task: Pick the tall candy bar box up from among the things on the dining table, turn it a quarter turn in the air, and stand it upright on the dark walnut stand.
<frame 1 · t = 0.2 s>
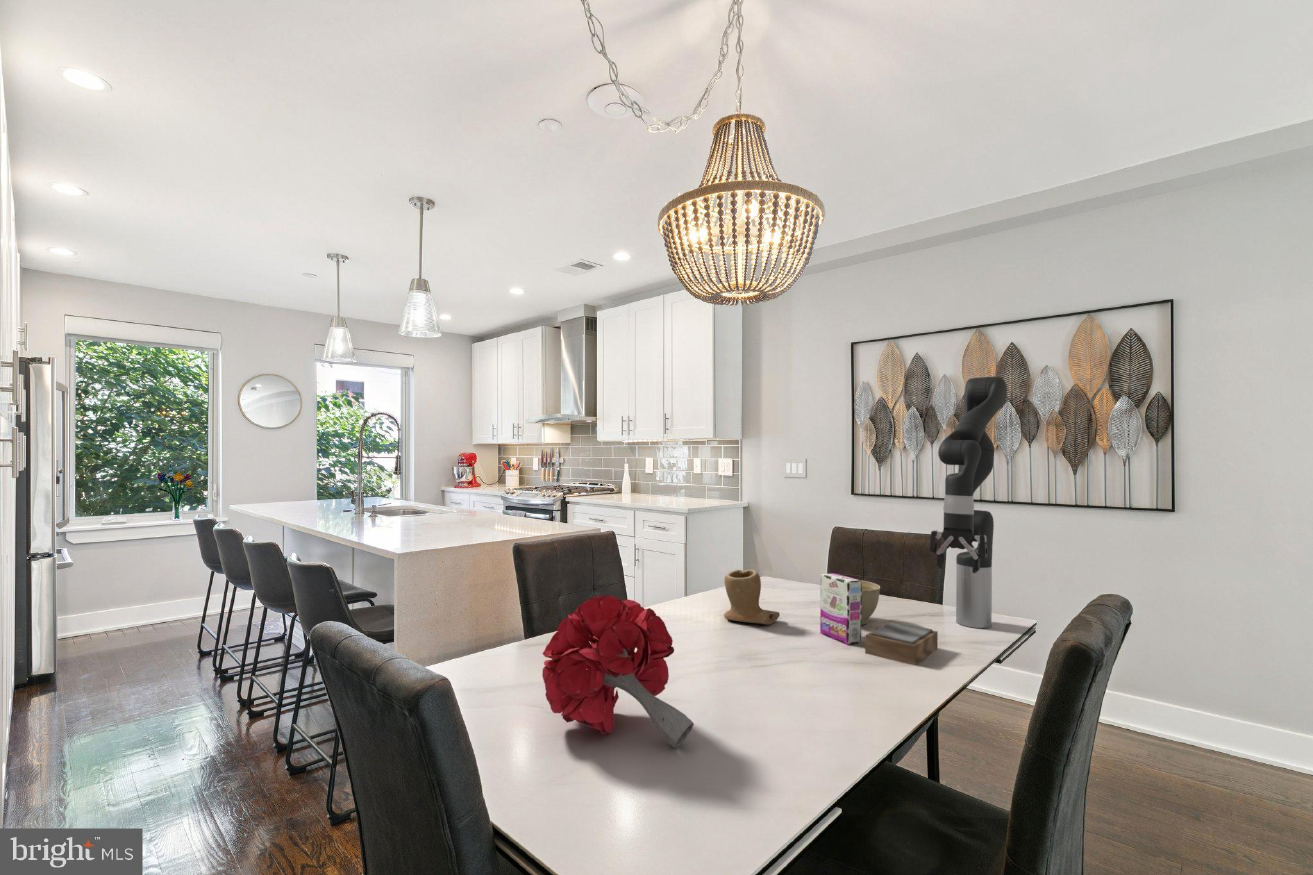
hand: (957, 570, 169), 17 cm above the table, tool pointing down, fingers open, 8 cm apart
stand: (901, 651, 154), on the table
planter bowl: (850, 622, 180), on the table
bouquet: (616, 729, 110), on the table
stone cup: (748, 622, 178), on the table
candy bar box: (840, 638, 164), on the table
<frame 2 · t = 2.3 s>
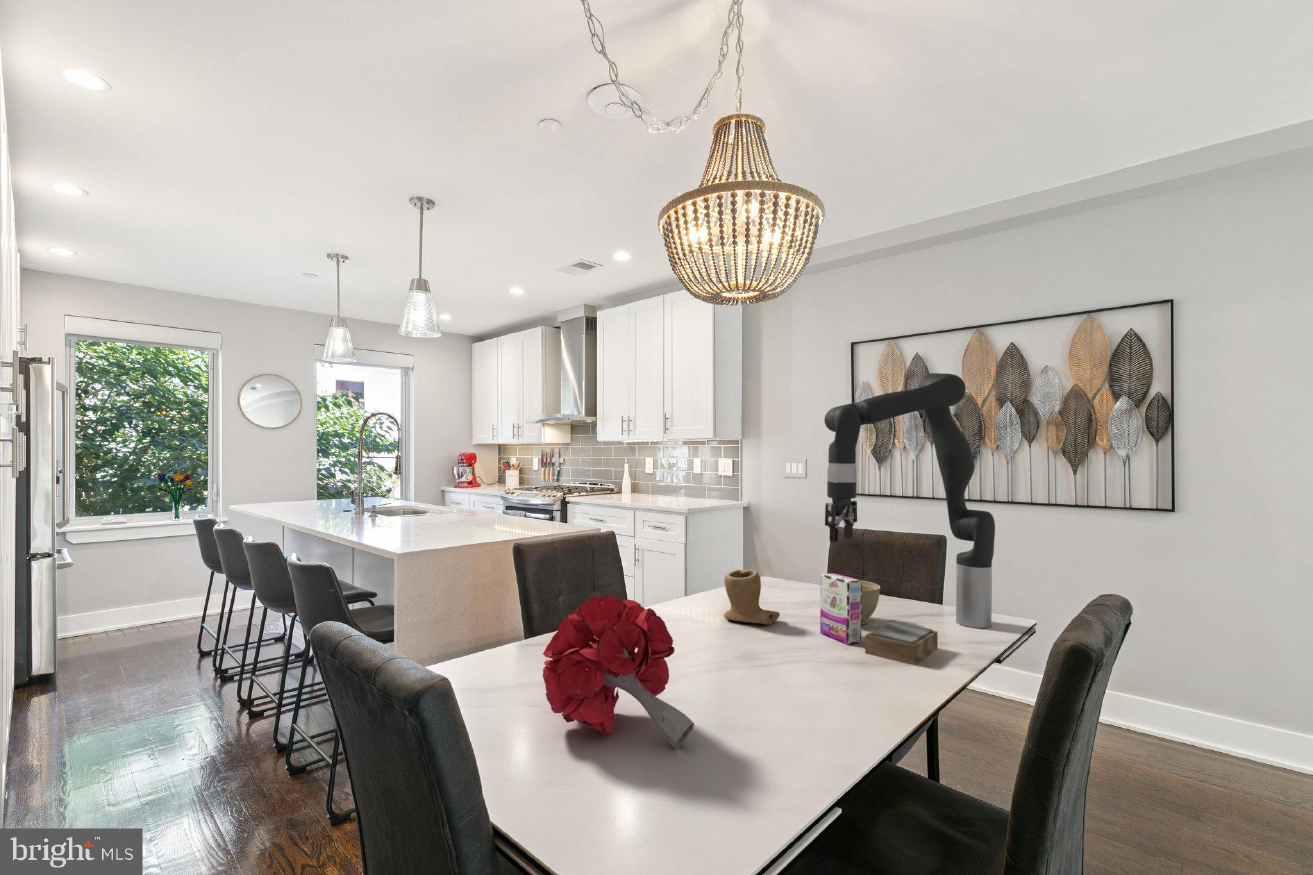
hand: (841, 540, 165), 26 cm above the table, tool pointing down, fingers open, 8 cm apart
nothing on the table moved.
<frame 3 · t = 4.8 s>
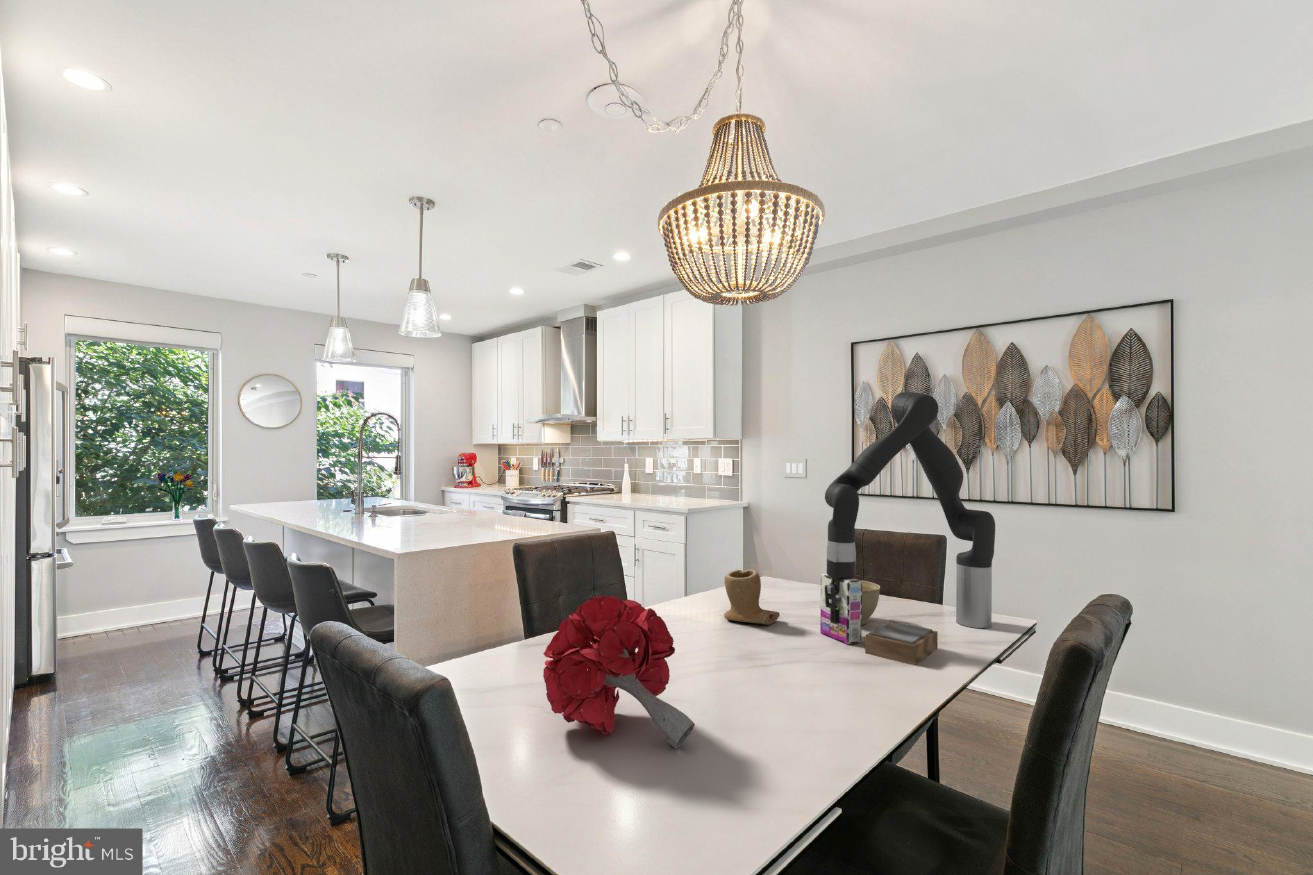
hand: (840, 620, 164), 5 cm above the table, tool pointing down, fingers closed on candy bar box, 6 cm apart
candy bar box: (840, 638, 164), on the table, touching gripper
everything else where it was.
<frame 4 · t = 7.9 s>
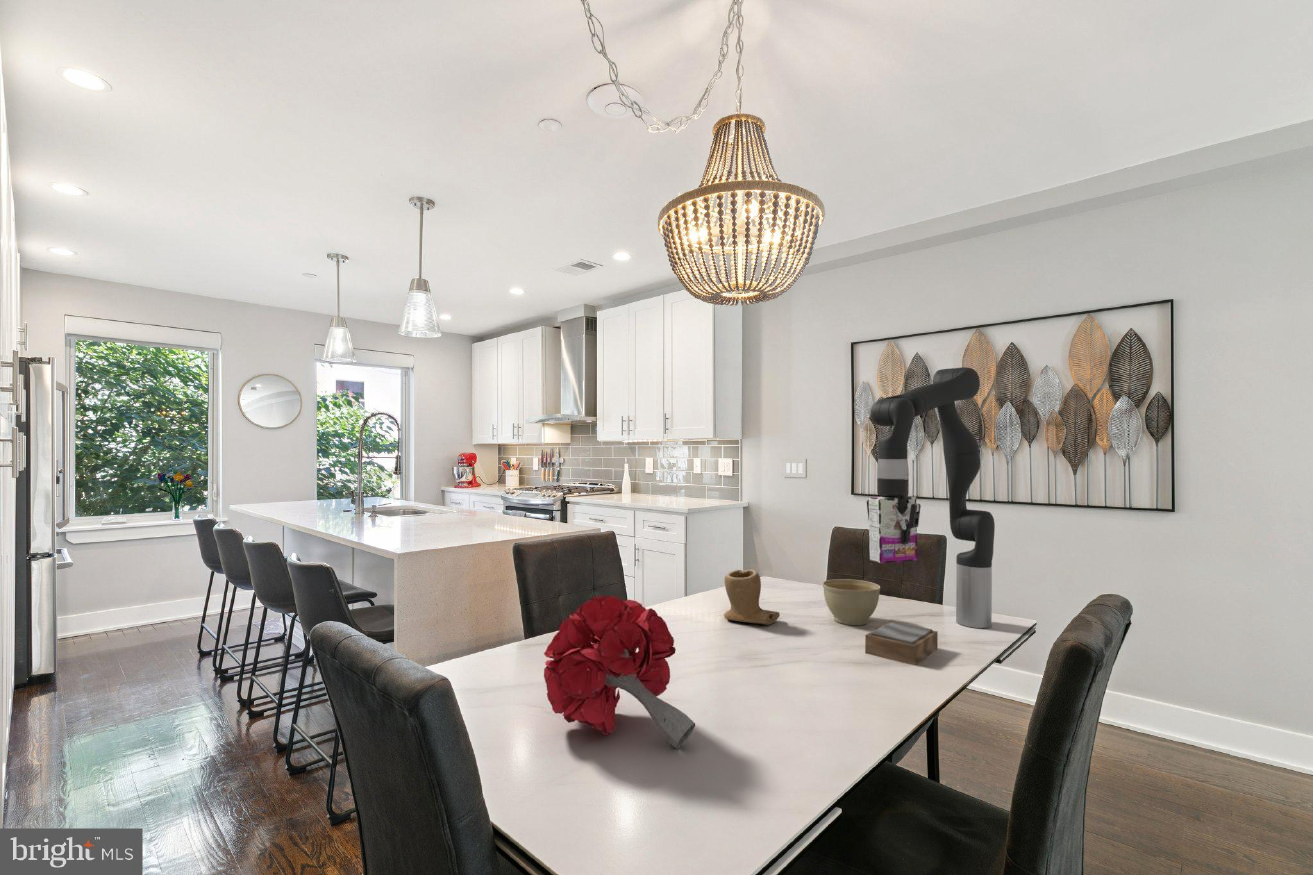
hand: (892, 542, 156), 27 cm above the table, tool pointing down, fingers closed on candy bar box, 6 cm apart
candy bar box: (892, 561, 156), point 22 cm above the table, touching gripper
everything else where it was.
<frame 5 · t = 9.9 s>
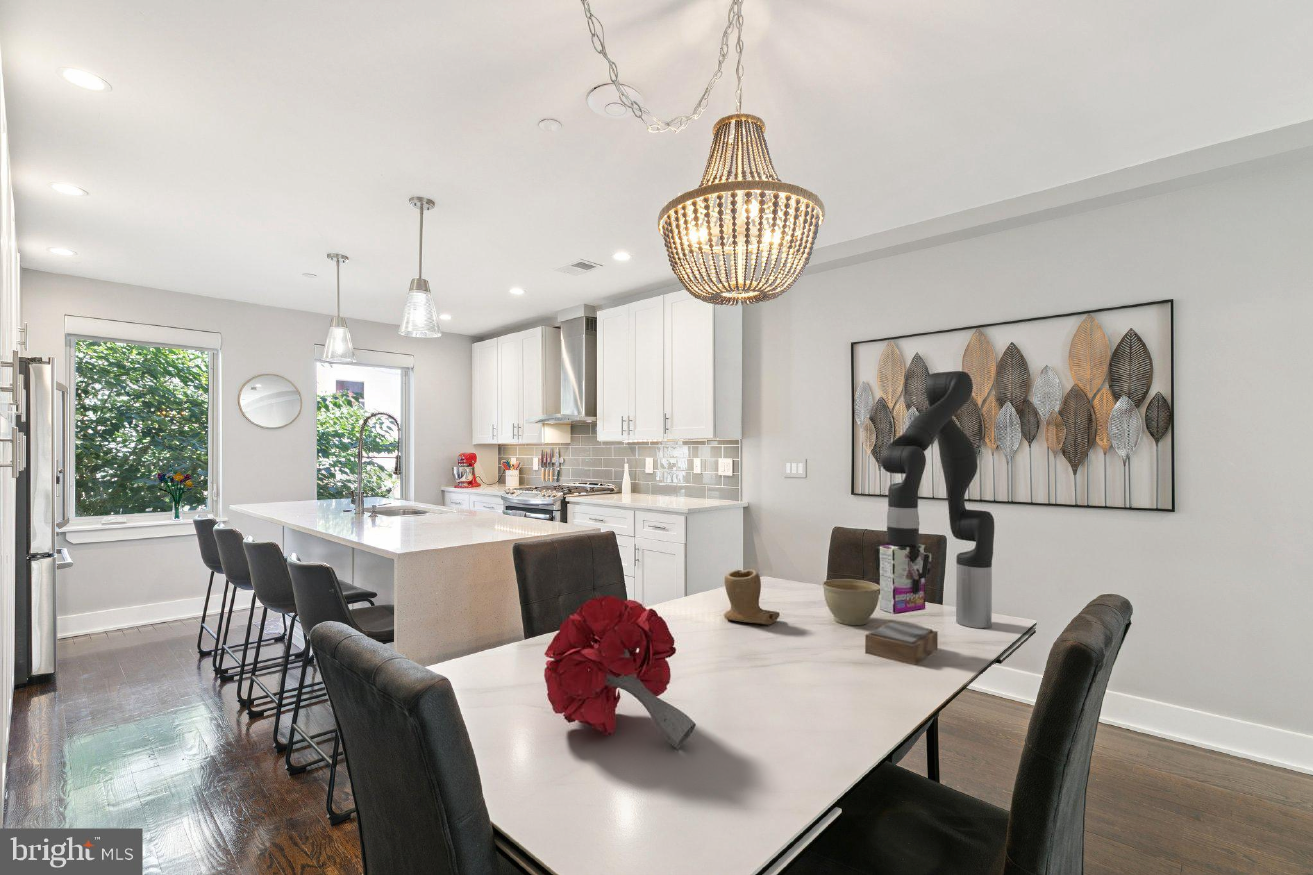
hand: (902, 591, 154), 15 cm above the table, tool pointing down, fingers closed on candy bar box, 6 cm apart
candy bar box: (902, 610, 154), point 10 cm above the table, touching gripper
everything else where it was.
when the fingers open (10 cm above the table, at t = 11.5 s): candy bar box stays where it is, resting on stand.
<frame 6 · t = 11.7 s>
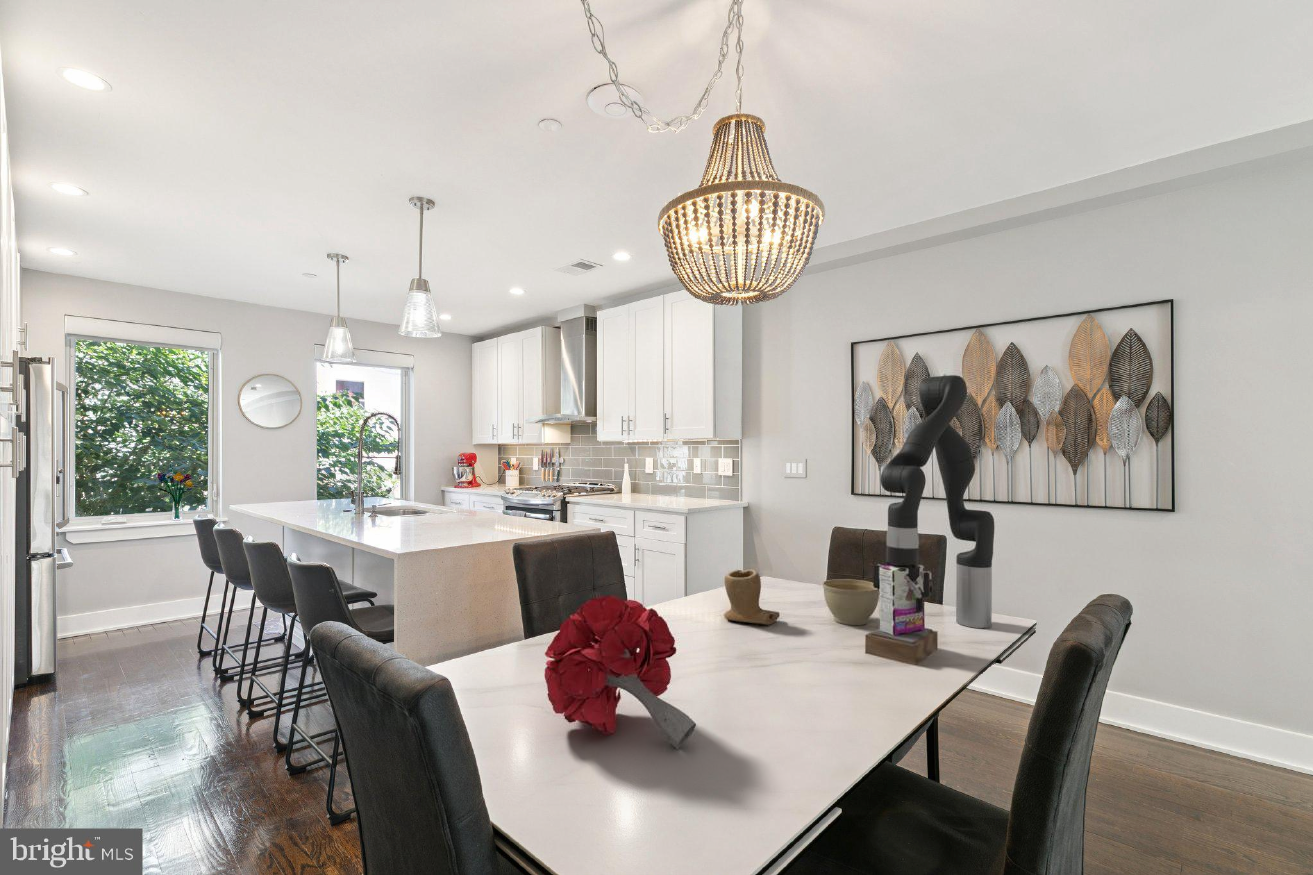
hand: (902, 609, 154), 10 cm above the table, tool pointing down, fingers open, 8 cm apart
candy bar box: (901, 631, 154), point 5 cm above the table, touching stand
everything else where it was.
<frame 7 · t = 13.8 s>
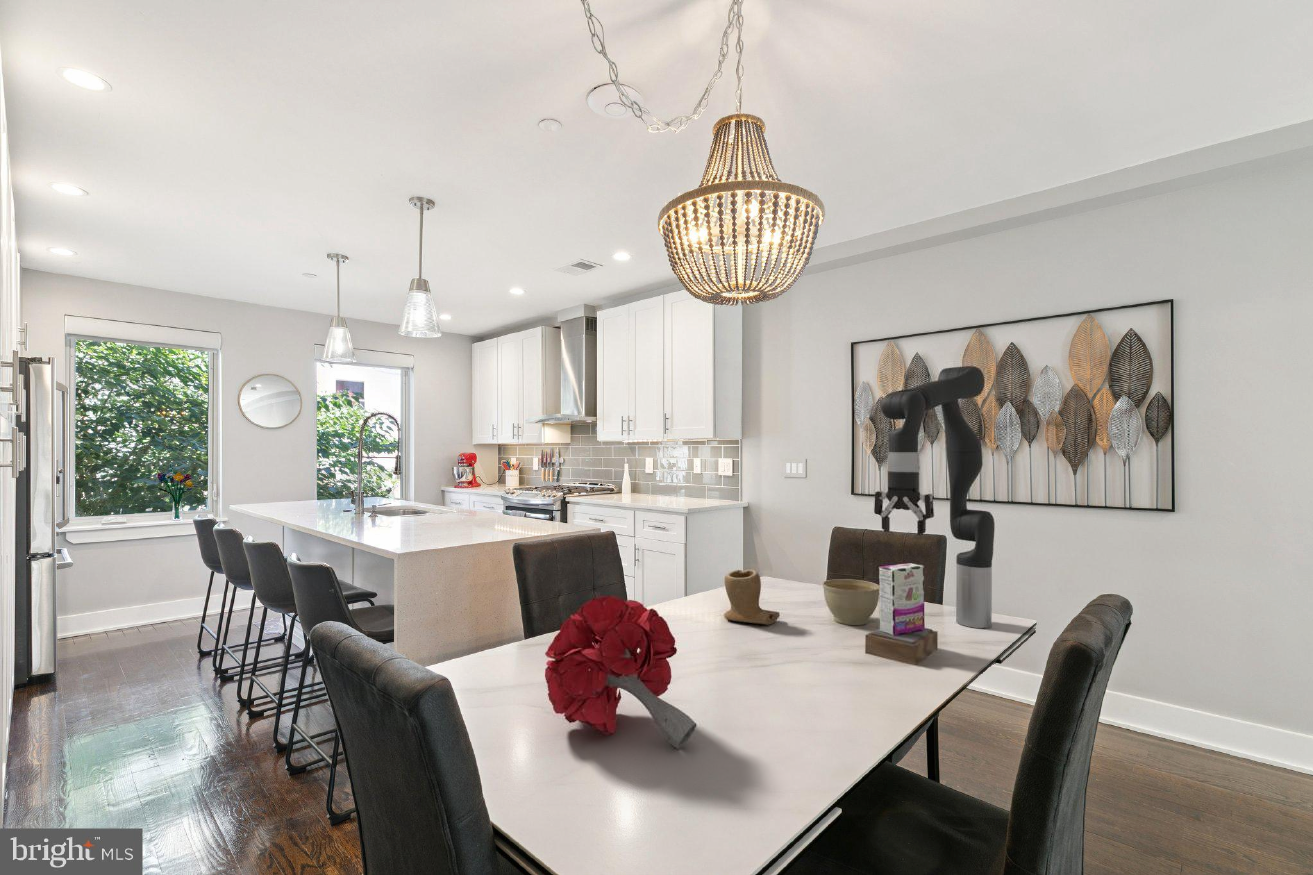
hand: (903, 533, 156), 29 cm above the table, tool pointing down, fingers open, 8 cm apart
nothing on the table moved.
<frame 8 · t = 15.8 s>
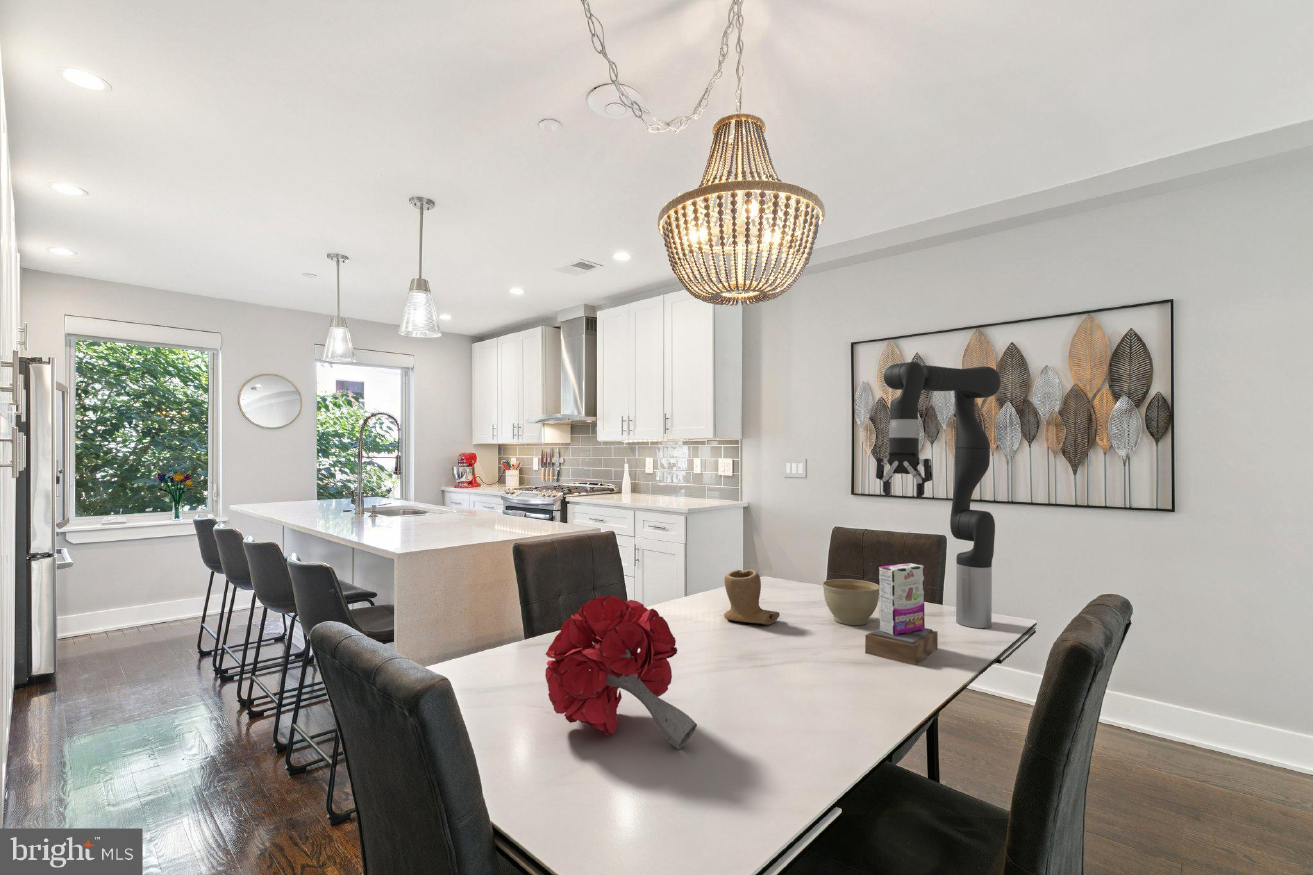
hand: (903, 496, 165), 38 cm above the table, tool pointing down, fingers open, 8 cm apart
nothing on the table moved.
at the end: candy bar box inside the target area on the stand (0.2 cm from its centre), point 4.8 cm above the stand's base; candy bar box tilted 0°; the gripper is holding nothing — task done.
